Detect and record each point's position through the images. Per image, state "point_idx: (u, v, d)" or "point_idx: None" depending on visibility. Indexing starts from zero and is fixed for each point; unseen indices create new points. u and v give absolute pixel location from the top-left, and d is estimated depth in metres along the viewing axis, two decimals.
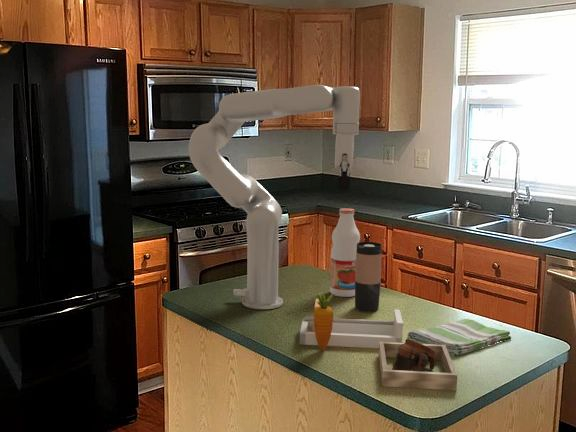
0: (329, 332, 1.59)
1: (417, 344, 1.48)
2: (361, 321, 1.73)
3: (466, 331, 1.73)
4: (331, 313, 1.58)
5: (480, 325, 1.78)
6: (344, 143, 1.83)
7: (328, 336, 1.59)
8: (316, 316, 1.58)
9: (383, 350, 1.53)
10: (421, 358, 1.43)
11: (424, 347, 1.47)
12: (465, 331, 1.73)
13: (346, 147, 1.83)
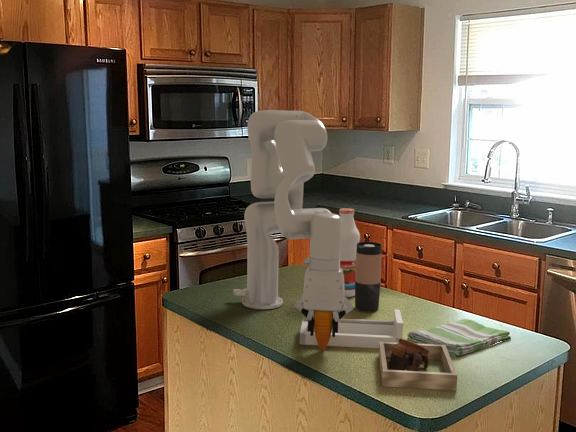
0: (329, 332, 1.59)
1: (411, 344, 1.48)
2: (361, 321, 1.73)
3: (465, 332, 1.73)
4: (331, 313, 1.58)
5: (479, 325, 1.78)
6: None
7: (328, 336, 1.59)
8: (316, 316, 1.58)
9: (383, 350, 1.53)
10: (415, 358, 1.44)
11: (418, 346, 1.48)
12: (465, 331, 1.73)
13: None
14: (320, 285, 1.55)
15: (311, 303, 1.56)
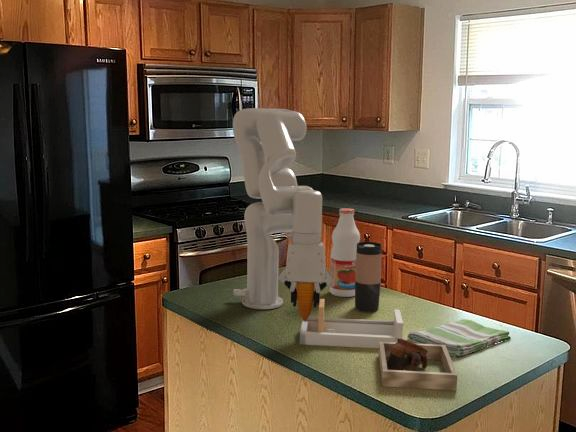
0: (311, 303, 1.67)
1: (410, 343, 1.48)
2: (361, 321, 1.73)
3: (465, 332, 1.73)
4: (312, 285, 1.67)
5: (479, 325, 1.78)
6: None
7: (310, 307, 1.68)
8: (298, 287, 1.67)
9: (383, 350, 1.53)
10: (414, 357, 1.44)
11: (416, 346, 1.48)
12: (465, 331, 1.73)
13: None
14: (302, 258, 1.64)
15: (293, 275, 1.65)
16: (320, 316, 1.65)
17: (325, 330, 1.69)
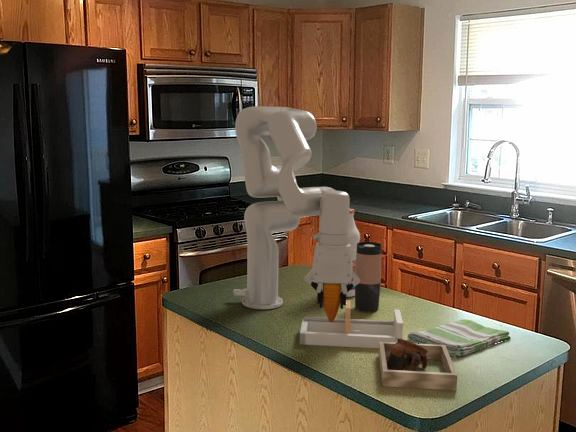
0: (337, 304, 1.67)
1: (409, 343, 1.48)
2: (361, 321, 1.73)
3: (465, 332, 1.72)
4: (339, 286, 1.66)
5: (479, 325, 1.78)
6: None
7: (336, 308, 1.67)
8: (325, 289, 1.66)
9: (383, 350, 1.53)
10: (414, 357, 1.44)
11: (416, 346, 1.48)
12: (464, 332, 1.73)
13: None
14: (329, 259, 1.63)
15: (320, 276, 1.64)
16: (347, 317, 1.65)
17: (351, 331, 1.69)
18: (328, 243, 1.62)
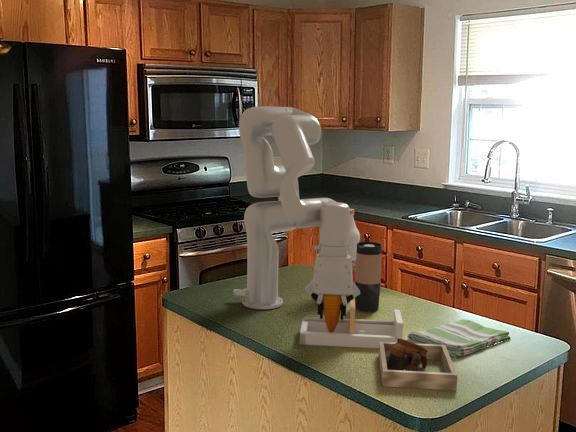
0: (338, 315, 1.67)
1: (409, 343, 1.48)
2: (361, 321, 1.73)
3: (465, 332, 1.72)
4: (339, 297, 1.67)
5: (478, 325, 1.78)
6: None
7: (337, 319, 1.68)
8: (325, 300, 1.67)
9: (383, 350, 1.53)
10: (414, 357, 1.44)
11: (416, 346, 1.48)
12: (464, 332, 1.73)
13: None
14: (329, 270, 1.64)
15: (320, 288, 1.65)
16: (352, 317, 1.65)
17: (356, 332, 1.68)
18: (328, 255, 1.62)
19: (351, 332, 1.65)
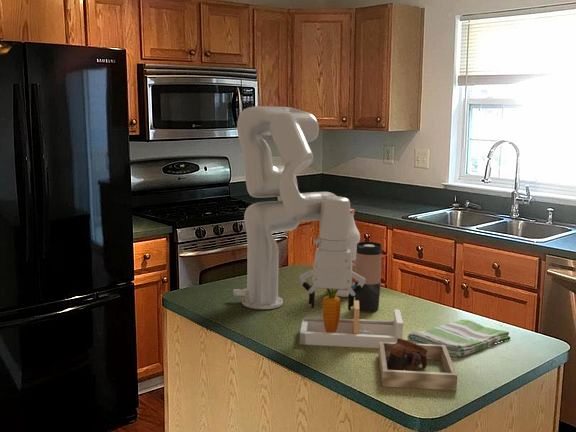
0: (337, 320, 1.68)
1: (410, 343, 1.48)
2: (361, 321, 1.73)
3: (465, 332, 1.72)
4: (338, 302, 1.67)
5: (478, 326, 1.78)
6: None
7: (336, 324, 1.68)
8: (324, 305, 1.67)
9: (383, 350, 1.53)
10: (414, 357, 1.44)
11: (416, 346, 1.48)
12: (464, 332, 1.73)
13: None
14: (329, 264, 1.64)
15: (320, 282, 1.65)
16: (356, 318, 1.64)
17: (360, 332, 1.68)
18: (328, 249, 1.62)
19: (355, 332, 1.65)
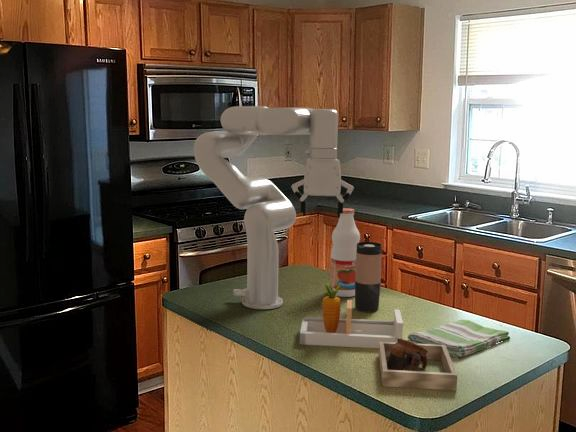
0: (337, 320, 1.68)
1: (410, 343, 1.48)
2: (361, 321, 1.73)
3: (465, 333, 1.72)
4: (339, 303, 1.67)
5: (478, 326, 1.78)
6: (340, 168, 1.77)
7: (336, 324, 1.68)
8: (324, 305, 1.67)
9: (383, 350, 1.53)
10: (414, 357, 1.44)
11: (416, 346, 1.48)
12: (464, 332, 1.72)
13: None
14: (319, 172, 1.75)
15: (311, 189, 1.76)
16: (348, 317, 1.65)
17: (352, 331, 1.69)
18: (318, 156, 1.73)
19: (348, 332, 1.65)
